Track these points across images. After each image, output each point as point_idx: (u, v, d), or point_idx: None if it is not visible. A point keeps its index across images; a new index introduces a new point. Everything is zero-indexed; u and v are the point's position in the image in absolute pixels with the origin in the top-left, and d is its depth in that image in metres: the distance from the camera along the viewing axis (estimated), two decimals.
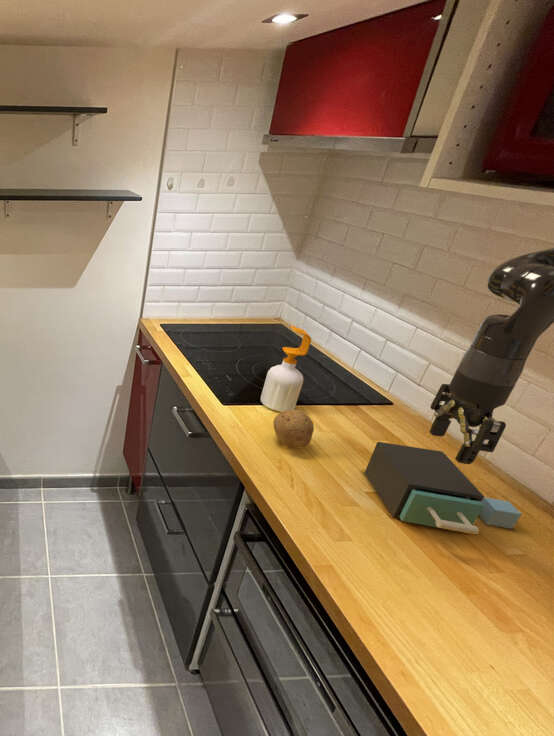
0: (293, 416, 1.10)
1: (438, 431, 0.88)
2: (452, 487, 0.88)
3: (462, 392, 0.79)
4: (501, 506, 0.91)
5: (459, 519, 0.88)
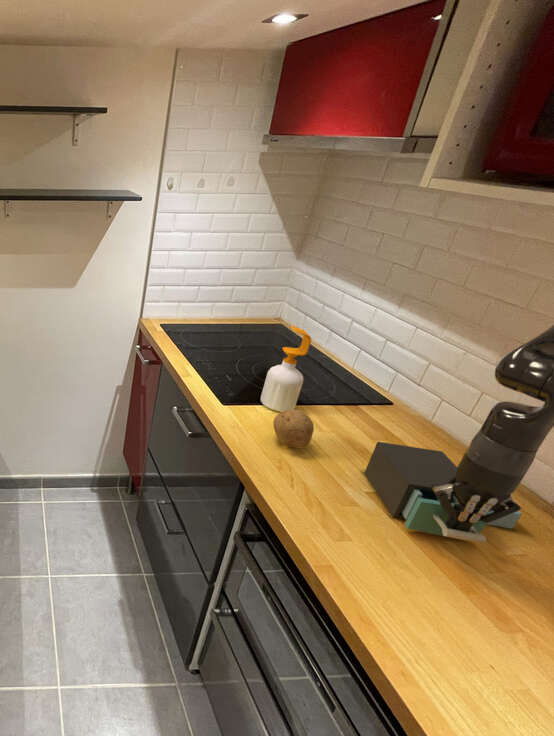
0: (293, 416, 1.10)
1: None
2: None
3: (512, 489, 0.75)
4: None
5: None
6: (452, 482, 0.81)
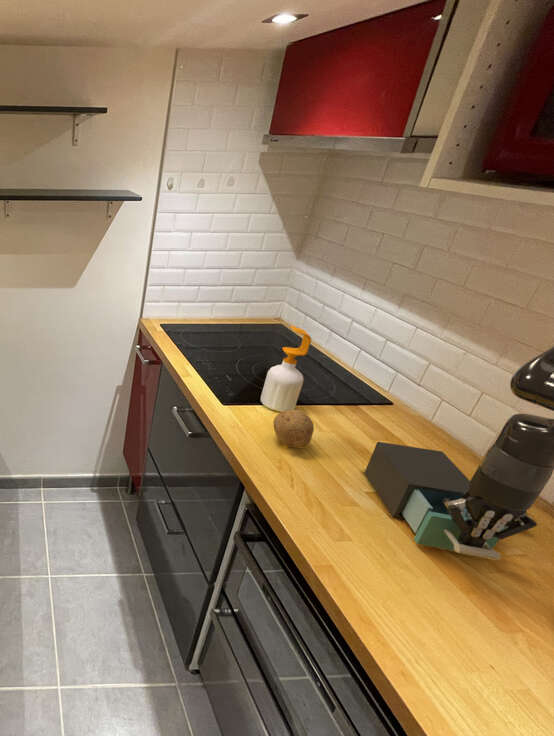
0: (293, 416, 1.10)
1: None
2: (452, 487, 0.88)
3: (529, 505, 0.72)
4: None
5: None
6: (465, 497, 0.78)
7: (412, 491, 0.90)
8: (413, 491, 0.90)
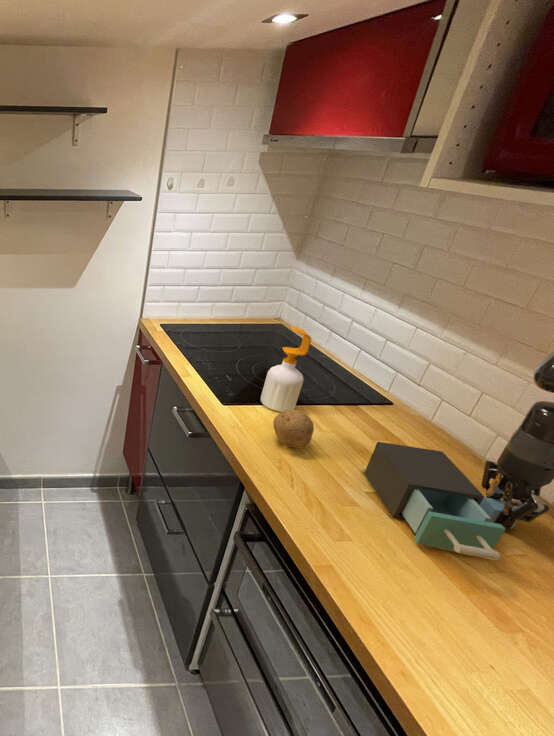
0: (293, 416, 1.10)
1: None
2: (452, 487, 0.88)
3: None
4: (501, 506, 0.91)
5: (478, 543, 0.83)
6: (530, 492, 0.85)
7: (412, 491, 0.90)
8: (413, 491, 0.90)
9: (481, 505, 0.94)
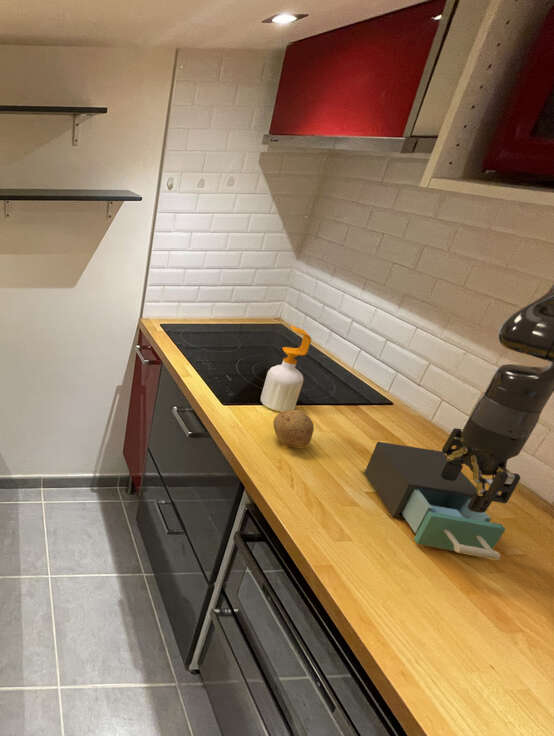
0: (293, 416, 1.10)
1: None
2: (452, 487, 0.88)
3: None
4: None
5: (478, 543, 0.83)
6: (495, 463, 0.77)
7: (412, 491, 0.90)
8: (413, 491, 0.90)
9: None
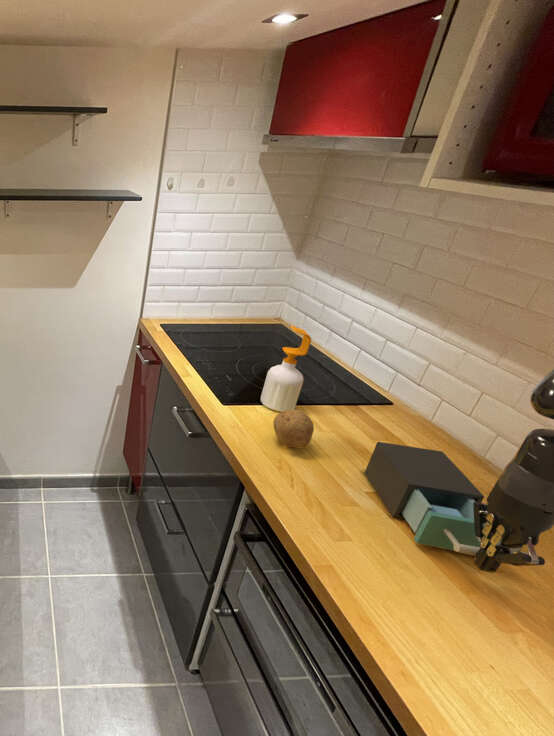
0: (293, 416, 1.10)
1: None
2: (452, 487, 0.88)
3: None
4: None
5: (478, 542, 0.83)
6: (526, 540, 0.70)
7: (412, 491, 0.90)
8: (413, 491, 0.90)
9: None
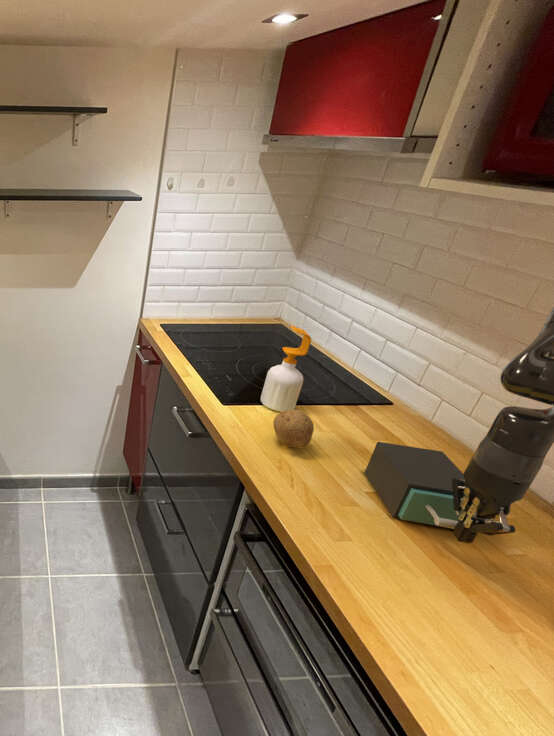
0: (293, 416, 1.10)
1: None
2: (452, 487, 0.88)
3: None
4: None
5: (457, 517, 0.88)
6: (498, 510, 0.75)
7: None
8: None
9: None
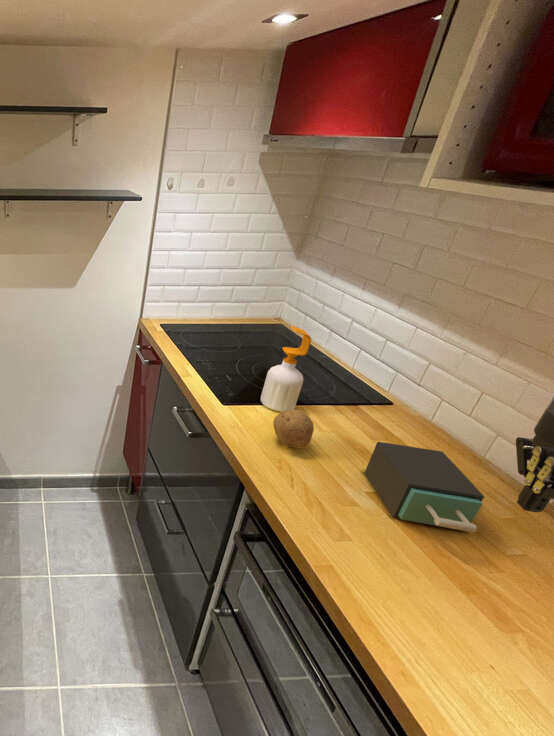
0: (293, 416, 1.10)
1: None
2: (452, 487, 0.88)
3: None
4: None
5: (457, 517, 0.88)
6: None
7: None
8: None
9: None
